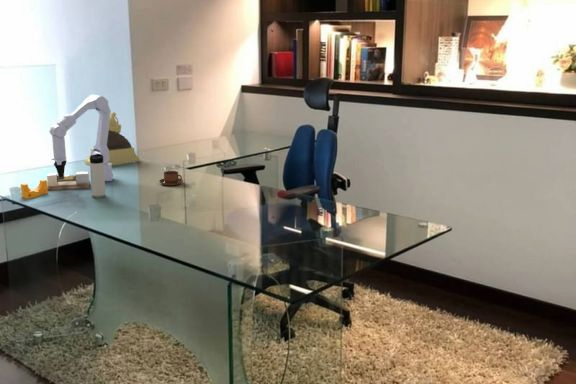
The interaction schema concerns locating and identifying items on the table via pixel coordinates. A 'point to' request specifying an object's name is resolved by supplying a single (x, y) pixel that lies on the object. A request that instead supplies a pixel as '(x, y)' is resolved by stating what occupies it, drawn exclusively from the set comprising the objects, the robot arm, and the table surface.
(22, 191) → the yellow u-shaped block
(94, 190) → the travel mug
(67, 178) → the block with brass knob
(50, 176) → the white square block
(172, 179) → the cup and saucer
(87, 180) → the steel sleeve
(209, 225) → the table surface
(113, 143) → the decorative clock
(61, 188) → the walnut board
